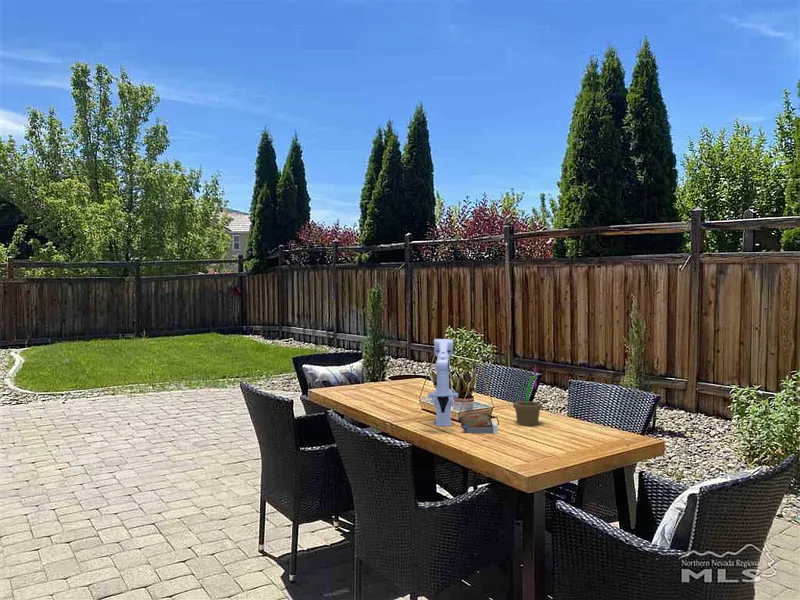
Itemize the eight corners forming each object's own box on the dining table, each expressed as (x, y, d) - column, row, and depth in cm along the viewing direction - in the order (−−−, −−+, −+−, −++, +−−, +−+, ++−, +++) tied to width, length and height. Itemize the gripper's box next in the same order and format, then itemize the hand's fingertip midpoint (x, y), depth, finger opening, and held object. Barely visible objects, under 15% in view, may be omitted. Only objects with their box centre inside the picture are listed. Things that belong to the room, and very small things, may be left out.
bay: (464, 429, 289) (464, 421, 289) (493, 428, 289) (493, 420, 289) (467, 434, 279) (467, 425, 279) (497, 433, 279) (498, 425, 279)
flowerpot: (542, 427, 292) (542, 367, 291) (513, 426, 295) (513, 366, 294) (541, 421, 306) (541, 363, 305) (513, 420, 309) (513, 363, 308)
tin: (461, 433, 281) (461, 415, 281) (460, 431, 284) (460, 414, 284) (492, 432, 283) (492, 414, 283) (490, 430, 286) (490, 413, 286)
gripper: (428, 385, 279) (428, 414, 279) (459, 385, 280) (459, 413, 280) (427, 383, 286) (427, 411, 286) (456, 383, 287) (456, 410, 287)
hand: (442, 412), depth 284 cm, fingers closed
